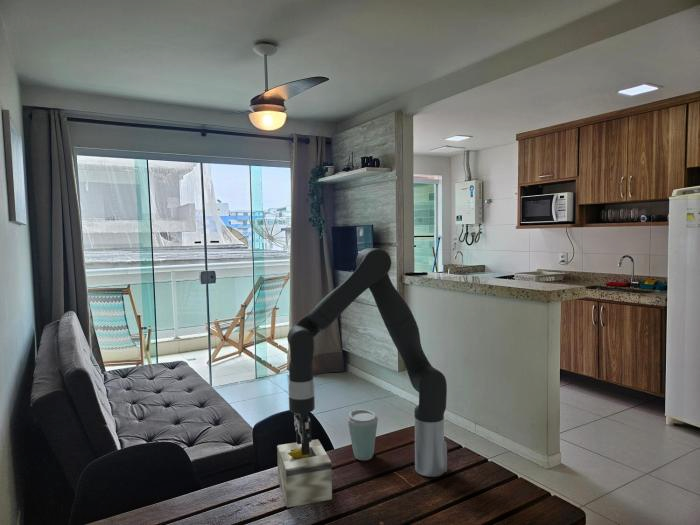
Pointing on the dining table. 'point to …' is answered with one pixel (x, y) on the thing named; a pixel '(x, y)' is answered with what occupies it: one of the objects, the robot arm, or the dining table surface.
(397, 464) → the dining table surface
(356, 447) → the disposable coffee cup
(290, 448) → the socket block
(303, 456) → the drill bit
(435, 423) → the robot arm
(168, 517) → the dining table surface
